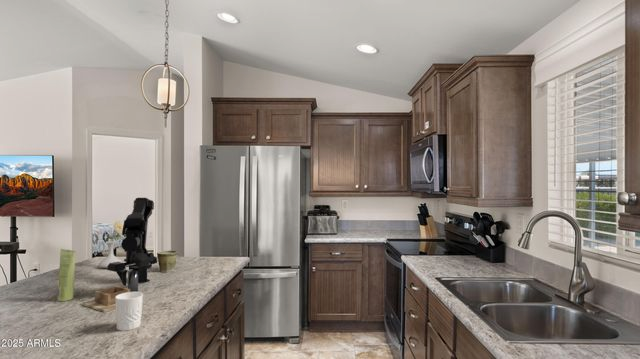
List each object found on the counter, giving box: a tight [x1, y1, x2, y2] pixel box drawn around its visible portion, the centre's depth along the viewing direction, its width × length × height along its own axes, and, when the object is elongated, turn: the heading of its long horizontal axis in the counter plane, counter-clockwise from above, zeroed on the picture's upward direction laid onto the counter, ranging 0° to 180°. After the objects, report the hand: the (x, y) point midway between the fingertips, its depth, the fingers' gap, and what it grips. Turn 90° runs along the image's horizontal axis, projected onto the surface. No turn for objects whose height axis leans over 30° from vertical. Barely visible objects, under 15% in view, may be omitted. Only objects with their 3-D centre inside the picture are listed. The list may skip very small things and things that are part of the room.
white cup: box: [115, 291, 144, 332], centre depth 110 cm, size 8×8×10 cm
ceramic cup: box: [156, 249, 179, 274], centre depth 181 cm, size 13×10×10 cm
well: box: [82, 285, 130, 313], centre depth 131 cm, size 14×14×5 cm
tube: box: [57, 248, 76, 302], centre depth 134 cm, size 6×5×20 cm
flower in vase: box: [98, 220, 126, 269], centre depth 187 cm, size 13×11×25 cm
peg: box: [127, 269, 139, 292], centre depth 144 cm, size 4×4×9 cm
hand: (133, 283), depth 144 cm, fingers open, 7 cm apart
